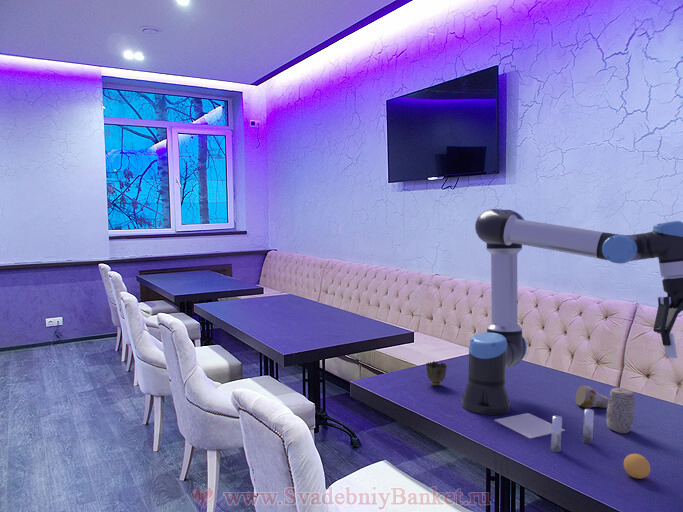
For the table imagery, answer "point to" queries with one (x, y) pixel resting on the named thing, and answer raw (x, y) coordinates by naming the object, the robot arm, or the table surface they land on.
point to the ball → (637, 466)
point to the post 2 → (588, 426)
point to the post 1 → (556, 433)
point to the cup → (436, 372)
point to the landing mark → (527, 425)
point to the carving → (620, 410)
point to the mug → (590, 398)
